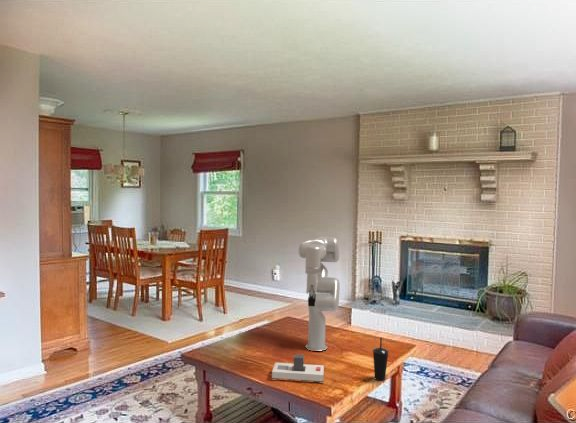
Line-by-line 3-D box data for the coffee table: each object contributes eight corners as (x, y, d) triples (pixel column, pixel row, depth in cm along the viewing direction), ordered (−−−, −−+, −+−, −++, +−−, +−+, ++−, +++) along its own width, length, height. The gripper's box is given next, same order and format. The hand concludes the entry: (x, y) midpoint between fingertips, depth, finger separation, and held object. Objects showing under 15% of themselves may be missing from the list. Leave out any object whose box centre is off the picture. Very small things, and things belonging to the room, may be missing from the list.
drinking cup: (368, 376, 220) (370, 335, 219) (382, 374, 223) (383, 334, 222) (377, 382, 213) (378, 340, 212) (391, 380, 216) (392, 339, 215)
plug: (294, 372, 220) (294, 354, 220) (303, 373, 220) (303, 354, 220) (293, 376, 216) (293, 357, 216) (302, 376, 215) (303, 358, 215)
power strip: (275, 370, 225) (275, 360, 225) (323, 373, 223) (323, 363, 223) (271, 380, 213) (272, 370, 213) (323, 383, 211) (323, 373, 211)
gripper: (306, 267, 239) (305, 299, 239) (304, 272, 221) (303, 307, 222) (320, 268, 238) (319, 300, 238) (319, 273, 221) (318, 308, 221)
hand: (311, 303), depth 230 cm, fingers open, 9 cm apart
